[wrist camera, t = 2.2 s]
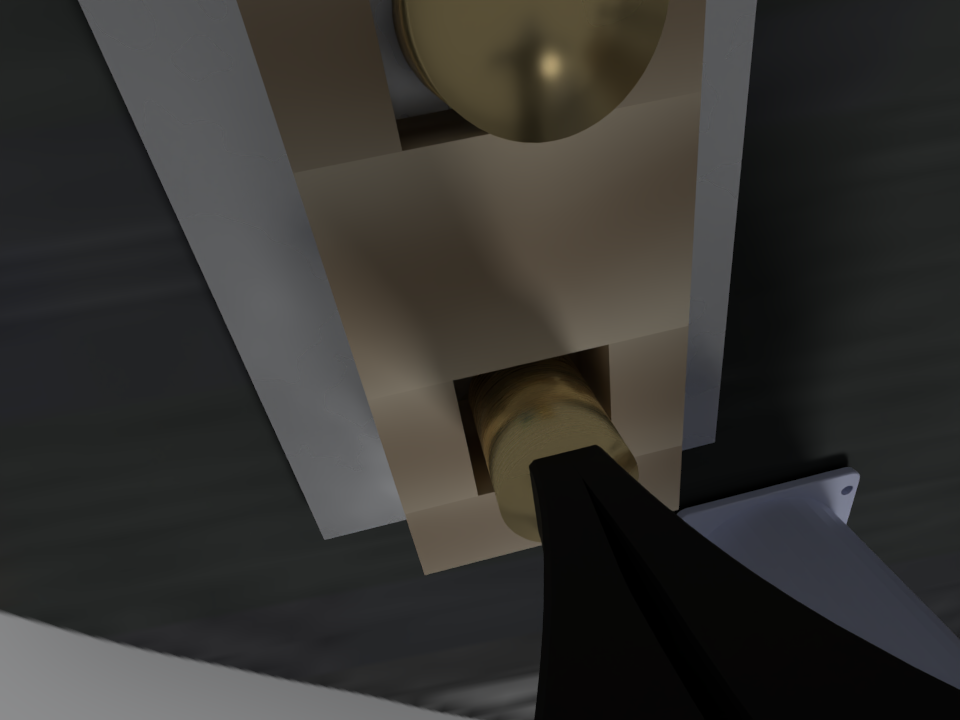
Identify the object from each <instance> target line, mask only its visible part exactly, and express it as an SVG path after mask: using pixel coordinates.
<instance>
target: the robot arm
mask: <svg viewBox="0 0 960 720" xmlns="http://www.w3.org/2000/svg"><path fill="white" fill-rule="evenodd" d="M529 471H530V478H531V485H532V492H533V499H534V506H535V512H536V519H537V526H538V532H539V536H540V539H541V543H542V547H543V551H544V612H543V633H542V648H541V661H540V672H539V682H538V692H537V702H536V711H535V719H534V720H960V639H959V638H958V637H957V636H956V635H955V634H954V633H953V632H952V631H951V630H950V629H949V628H948V627H947V626H946V625H945V624H944V623H943V622H942V621H941V620H940V619H939V618H938V617H937V616H936V615H935V614H934V613H933V612H932V611H931V610H930V609H929V608H928V607H927V606H926V605H925V604H924V603H923V602H922V601H921V600H920V599H919V598H918V597H917V596H916V595H915V594H914V593H913V592H912V591H911V590H910V589H909V588H908V587H907V586H906V585H905V584H904V583H903V582H902V580H901V579H900V578H899V577H898V576H897V575H896V574H895V573H894V572H893V571H892V570H891V569H890V568H889V567H888V566H887V565H886V564H885V563H884V562H883V561H882V560H881V559H880V558H879V557H878V556H877V555H876V554H875V553H874V552H873V551H872V550H871V549H870V548H869V547H868V546H867V545H866V544H865V543H864V542H863V541H862V540H861V539H860V538H859V537H858V536H857V535H856V534H855V533H854V532H853V531H852V530H851V529H850V528H849V527H848V526H847V525H846V524H847V520H848V517H849V513H850V510H851V506H852V503H853V500H854V496H855V493H856V489H857V486H858V482H859V479H860V475H859V473H858V472H857V471H856V470H855V469H853V468H852V467H844V468H840V469H836V470H832V471H828V472H824V473H821V474H817V475H813V476H809V477H805V478H801V479H797V480H793V481H790V482H786V483H782V484H778V485H774V486H770V487H766V488H762V489H759V490H755V491H751V492H747V493H743V494H739V495H735V496H731V497H728V498H724V499H720V500H716V501H712V502H708V503H704V504H700V505H697V506H693V507H689V508H685V509H683V510H681V511H679V512H678V513H677V514H675V513H674V512H673V511H672V510H670V509H669V508H668V507H667V506H666V505H664V504H663V503H662V502H661V501H659V500H658V499H657V498H656V497H655V496H654V495H652V494H651V493H650V492H649V491H648V490H647V489H646V488H644V487H643V486H642V485H641V484H640V483H639V482H638V481H637V480H635V479H634V478H633V477H632V476H631V475H630V474H629V473H628V472H627V471H626V470H624V469H623V468H622V467H621V466H620V465H619V464H618V463H617V462H616V461H615V460H614V459H613V458H612V457H611V456H610V455H609V454H608V453H607V452H606V451H604V450H603V449H602V448H601V447H600V446H598V445H592V446H588V447H584V448H580V449H576V450H572V451H568V452H564V453H560V454H555V455H551V456H547V457H543V458H539V459H535V460H533V461H532V463H531V464H530V465H529Z"/></svg>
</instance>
